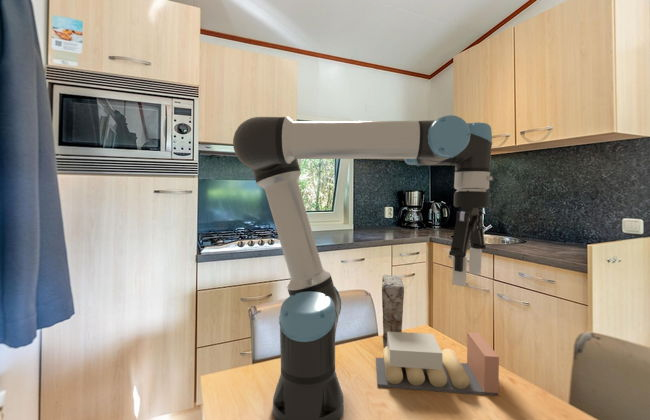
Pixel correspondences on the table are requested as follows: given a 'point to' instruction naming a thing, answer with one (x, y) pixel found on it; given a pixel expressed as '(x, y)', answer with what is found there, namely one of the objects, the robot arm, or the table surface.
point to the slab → (414, 350)
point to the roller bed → (427, 383)
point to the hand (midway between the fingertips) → (467, 279)
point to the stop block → (483, 362)
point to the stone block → (392, 305)
